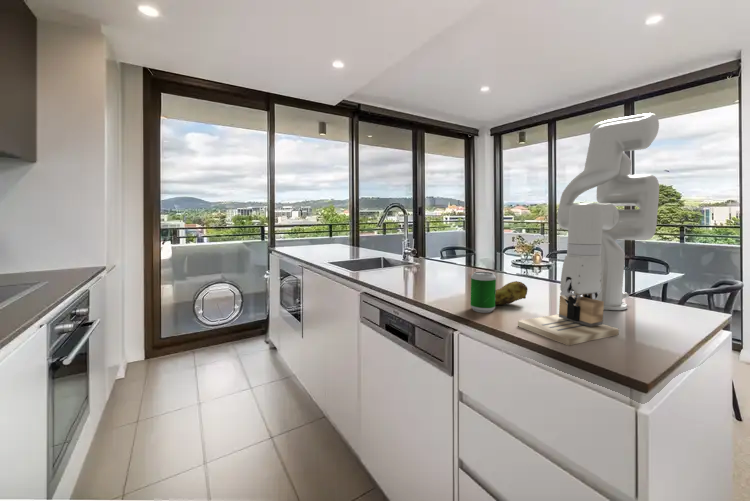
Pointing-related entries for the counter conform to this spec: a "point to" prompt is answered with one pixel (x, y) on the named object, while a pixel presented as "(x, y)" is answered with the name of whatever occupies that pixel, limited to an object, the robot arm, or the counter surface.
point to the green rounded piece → (510, 293)
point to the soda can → (483, 291)
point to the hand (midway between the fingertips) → (579, 318)
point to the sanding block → (585, 311)
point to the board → (566, 329)
